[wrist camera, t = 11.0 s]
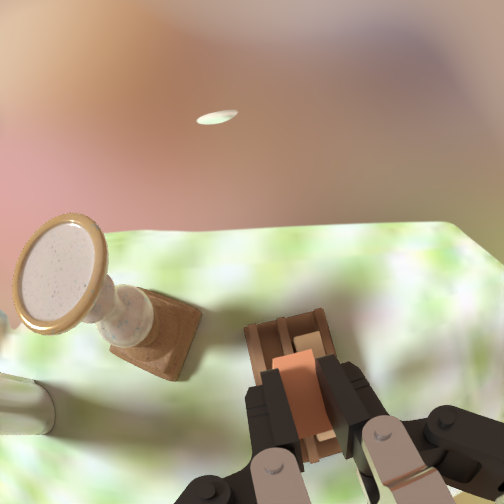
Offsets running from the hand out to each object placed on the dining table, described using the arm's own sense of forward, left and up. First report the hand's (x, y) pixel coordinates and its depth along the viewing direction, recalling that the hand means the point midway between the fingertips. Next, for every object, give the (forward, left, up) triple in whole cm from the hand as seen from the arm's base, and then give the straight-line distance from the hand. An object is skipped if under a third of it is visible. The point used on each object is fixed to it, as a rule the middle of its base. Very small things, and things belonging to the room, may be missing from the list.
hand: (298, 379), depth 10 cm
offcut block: (+1, +5, -26) cm, 27 cm away
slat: (+1, -1, -14) cm, 14 cm away
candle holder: (-17, -6, -28) cm, 34 cm away
